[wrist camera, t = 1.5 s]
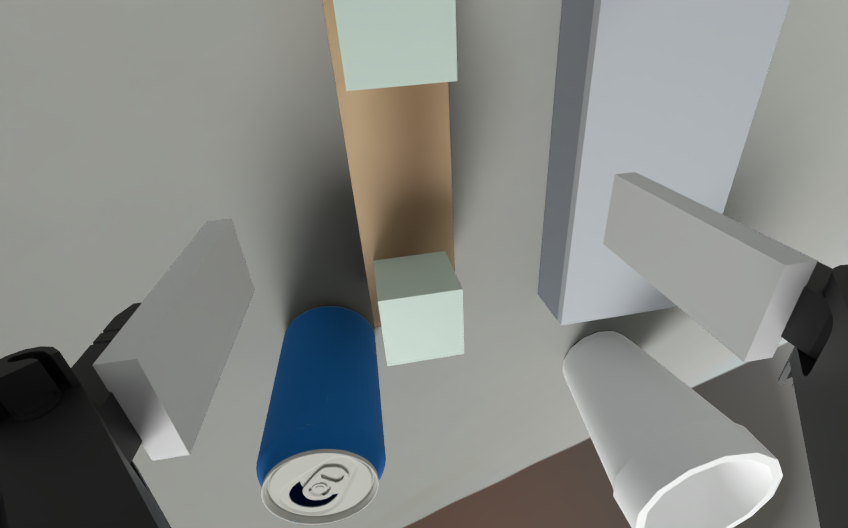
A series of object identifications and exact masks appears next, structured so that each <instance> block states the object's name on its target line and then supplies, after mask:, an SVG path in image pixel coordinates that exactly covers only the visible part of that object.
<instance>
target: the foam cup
mask: <svg viewBox="0 0 848 528" xmlns="http://www.w3.org/2000/svg"><path fill="white" fill-rule="evenodd" d="M563 374H564V376H565V380H566V382H567V384H568V387H569V389H570V391H571V394H572V396H573V398H574V400H575V403H576V405H577V407H578V409H579V412H580V414H581V416H582V418H583V421H584V423H585V425H586V428H587V430H588V432H589V434H590V437H591V439H592V441H593V443H594V446H595V448H596V450H597V453H598V455H599V457H600V459H601V462H602V464H603V466H604V468H605V471H606V473H607V475H608V478H609V480H610V482H611V484H612V487H613V489H614V495H613V496H614V498H615V500H616V501H617V503H618V505H619V507H620V508H621V510H622V512H623V513H624V515H625V517H626V519H627V520H628V522H629V524H630V525H631V527H632V528H733V527H734V526H736V525H738V524H739V523H741V522H742V521H744V520H746V519H748V518H749V517H751V516H752V515H753V514H754V513H755V512H757V511H758V509H760V508H761V507H762V506H763V505H764V504H765V503H766V502H767V501H768V500H769V499H770V498H771V497H772V496H773V495H774V493H775V491H776V489H777V487H778V485H779V483H780V480H781V479H782V476H783V474H782V471H781V468H780V465H779V462H778V460H777V459H776V458H775V457H774V456H773V455H772V454H771V453H770V452H769V451H768V450H767V449H766V448H765V447H764V446H763V445H762V444H761V443H760V442H759V441H758V440H757V439H756V438H755V437H754V436H753V435H752V434H751V433H750V432H749V431H748V430H747V429H746V428H745V427H744V426H741V425H739V424H736V423H734V422H732V421H731V420H730V419H729V418H727V417H726V416H725V415H724V414H722V413H721V412H720V411H719V410H717V409H716V408H715V407H714V406H712V405H711V404H710V403H709V402H707V401H706V400H705V399H704V398H702V397H701V396H700V395H699V394H697V393H696V392H695V391H693V390H692V389H691V388H690V387H689V386H687V385H686V384H685V383H684V382H682V381H681V380H680V379H678V378H677V377H676V376H675V375H673V374H672V373H671V372H670V371H668V370H667V369H666V368H665V367H663V366H662V365H661V364H660V363H658V362H657V361H656V360H655V359H653V358H652V357H651V356H650V355H648V354H647V353H646V352H645V351H643V350H642V349H641V348H640V347H638V346H637V345H636V344H635V343H633V342H632V341H631V340H629V339H627V338H626V337H625V336H624V335H621V334H619V333H617V332H615V331H603V332H597V333H594V334H592V335H589V336H587V337H584V338H582V339H581V340H580V341H579V342H578V343H577V344H575V345H574V346H573V347H572V348H571V349H570V350H569V352H568V354H567V355H566V357H565V359H564V361H563Z"/></svg>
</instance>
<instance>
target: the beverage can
mask: <svg viewBox="0 0 848 528" xmlns="http://www.w3.org/2000/svg"><path fill="white" fill-rule="evenodd" d="M385 459H386V458H385V446H384V435H383V423H382V412H381V400H380V389H379V378H378V366H377V355H376V343H375V335H374V331H373V329H372V327H371V325H370V324H369V322H368V321H367V320H366V319H365V318H364V317H363V316H361V315H360V314H358V313H357V312H355V311H352V310H350V309H347V308H343V307H338V306H323V307H318V308H314V309H311V310H308V311H306V312H304V313H302V314H301V315H299V316H298V317H297V318H295V319H294V320H293V321H292V322H291V324H290V325H289V326H288V328H287V330H286V332H285V336H284V340H283V344H282V349H281V354H280V358H279V363H278V367H277V372H276V377H275V381H274V386H273V391H272V395H271V400H270V405H269V409H268V414H267V419H266V423H265V428H264V432H263V437H262V442H261V446H260V451H259V456H258V460H257V468H256V469H257V477H258V480H259V483H260V485H261V498H262V501H263V504H264V505H265V507H266V508H267V509H268V510H269V511H270V512H271V513H272V514H274V515H275V516H277V517H279V518H281V519H283V520H286V521H289V522H293V523H297V524H307V525H317V524H327V523H332V522H336V521H340V520H343V519H346V518H348V517H351V516H353V515H355V514H356V513H358V512H360V511H361V510H363V509H364V508H365V507H366V506H368V505H369V504H370V503H371V501H372V500H373V499H374V497H375V496H376V494H377V491H378V487H379V479H380V478H381V476H382V473H383V471H384V467H385Z"/></svg>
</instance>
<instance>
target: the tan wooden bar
mask: <svg viewBox="0 0 848 528" xmlns="http://www.w3.org/2000/svg"><path fill="white" fill-rule="evenodd" d="M322 1H323V8H324V14H325V20H326V26H327V33H328V39H329V45H330V51H331V58H332V64H333V70H334V76H335V83H336V89H337V95H338V101H339V108H340V114H341V120H342V126H343V133H344V139H345V145H346V151H347V158H348V164H349V170H350V177H351V183H352V189H353V195H354V202H355V208H356V214H357V220H358V227H359V233H360V239H361V245H362V252H363V258H364V264H365V270H366V277H367V283H368V289H369V295H370V302H371V308H372V314H373V320H374V327H381V320H380V313H379V306H378V299H377V290H376V280H375V271H374V262H373V261H374V260H382V259H389V258H397V257H404V256H411V255H419V254H426V253H434V252H441V251H446V254H447V256H448V258H449V260H450V262H451V265H452V267H453V269H454V271H455V262H454V233H453V205H452V176H451V147H450V118H449V90H448V82H442V83H431V84H420V85H409V86H398V87H387V88H376V89H365V90H354V91H346V85H345V78H344V72H343V65H342V58H341V52H340V45H339V38H338V31H337V25H336V18H335V11H334V5H333V0H322Z"/></svg>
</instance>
